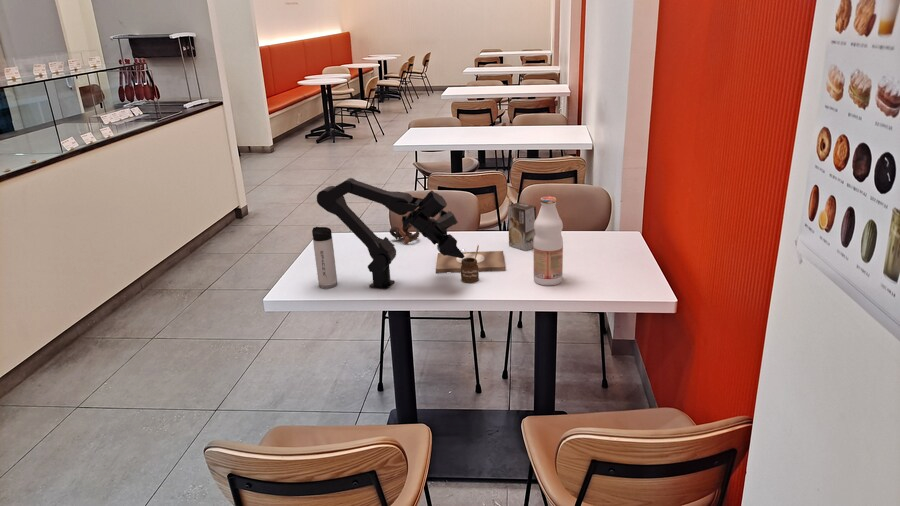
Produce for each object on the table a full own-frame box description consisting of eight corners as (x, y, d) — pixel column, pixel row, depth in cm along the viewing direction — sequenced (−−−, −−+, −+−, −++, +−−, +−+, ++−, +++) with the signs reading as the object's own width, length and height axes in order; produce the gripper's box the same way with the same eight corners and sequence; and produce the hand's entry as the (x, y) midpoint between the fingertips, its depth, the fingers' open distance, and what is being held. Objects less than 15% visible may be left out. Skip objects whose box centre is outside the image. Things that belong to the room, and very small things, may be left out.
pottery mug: (418, 236, 259) (421, 222, 253) (416, 253, 253) (419, 239, 247) (389, 231, 258) (392, 217, 252) (386, 248, 251) (389, 233, 246)
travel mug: (328, 279, 218) (321, 224, 212) (341, 284, 214) (335, 227, 207) (314, 285, 214) (307, 229, 207) (327, 290, 210) (320, 232, 203)
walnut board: (503, 254, 234) (503, 249, 233) (505, 270, 218) (505, 265, 218) (438, 256, 235) (437, 251, 234) (435, 273, 220) (435, 267, 219)
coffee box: (537, 247, 240) (537, 206, 234) (525, 251, 236) (525, 209, 230) (519, 241, 246) (518, 201, 241) (507, 246, 242) (507, 205, 237)
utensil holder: (460, 277, 215) (458, 243, 211) (478, 275, 216) (477, 242, 211) (461, 283, 210) (460, 249, 206) (480, 282, 210) (479, 248, 206)
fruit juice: (531, 285, 206) (531, 201, 196) (535, 274, 214) (535, 194, 205) (560, 287, 203) (562, 202, 194) (563, 276, 212) (565, 194, 202)
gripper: (448, 213, 193) (484, 242, 199) (434, 198, 210) (467, 226, 216) (425, 241, 194) (461, 269, 200) (412, 224, 211) (446, 250, 217)
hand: (459, 252), depth 208 cm, fingers open, 9 cm apart
